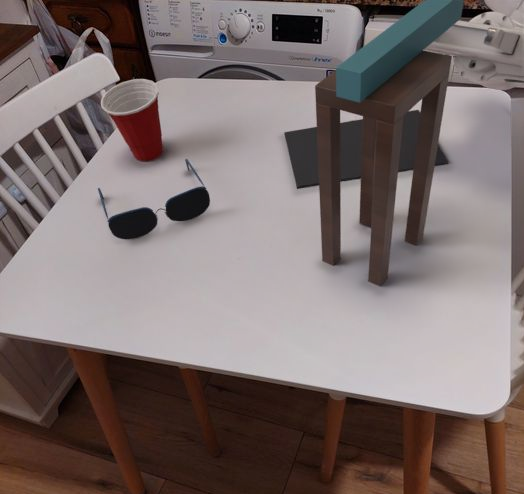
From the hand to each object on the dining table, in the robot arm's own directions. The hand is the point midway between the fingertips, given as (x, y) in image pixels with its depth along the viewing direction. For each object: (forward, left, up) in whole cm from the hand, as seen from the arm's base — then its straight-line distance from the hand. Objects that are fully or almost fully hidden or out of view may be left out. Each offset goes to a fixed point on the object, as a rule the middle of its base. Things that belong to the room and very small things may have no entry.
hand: (455, 30), depth 65 cm
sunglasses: (+46, -8, -24) cm, 53 cm away
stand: (+12, +12, -24) cm, 29 cm away
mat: (+8, -15, -24) cm, 29 cm away
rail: (+9, +9, +2) cm, 13 cm away
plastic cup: (+48, -25, -24) cm, 59 cm away
